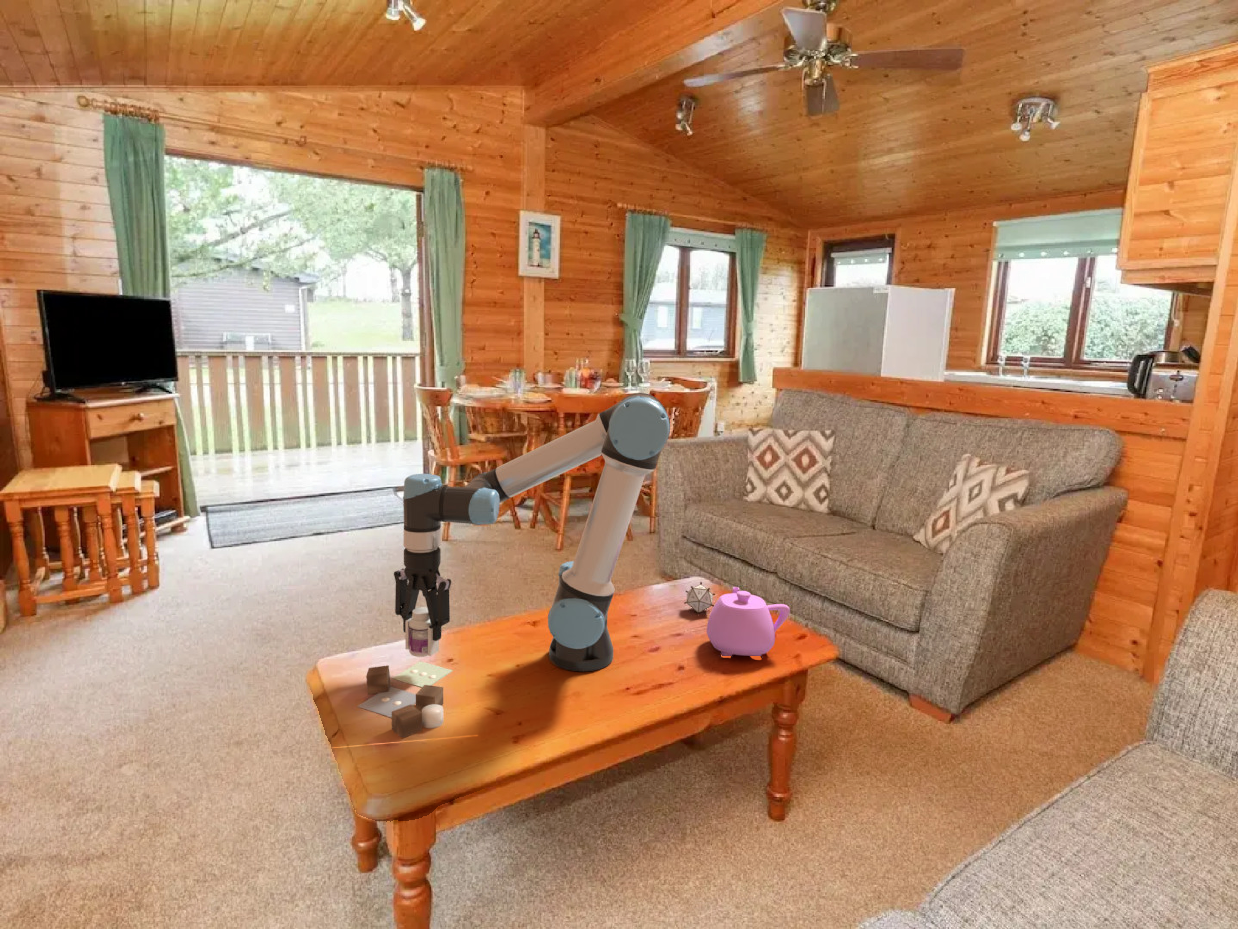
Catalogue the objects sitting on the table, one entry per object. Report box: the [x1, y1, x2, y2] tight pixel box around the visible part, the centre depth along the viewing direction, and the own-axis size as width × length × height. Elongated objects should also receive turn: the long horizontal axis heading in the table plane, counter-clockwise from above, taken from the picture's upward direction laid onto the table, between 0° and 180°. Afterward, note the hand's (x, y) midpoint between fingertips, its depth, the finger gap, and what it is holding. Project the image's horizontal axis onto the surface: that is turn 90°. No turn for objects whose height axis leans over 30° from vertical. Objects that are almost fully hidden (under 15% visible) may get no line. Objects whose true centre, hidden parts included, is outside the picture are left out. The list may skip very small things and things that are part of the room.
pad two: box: [357, 685, 417, 719], centre depth 139 cm, size 9×9×1 cm
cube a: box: [415, 685, 444, 712], centre depth 137 cm, size 4×4×4 cm
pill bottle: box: [408, 606, 431, 658], centre depth 149 cm, size 5×5×10 cm
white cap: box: [422, 704, 444, 729], centre depth 132 cm, size 4×4×3 cm
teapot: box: [706, 586, 791, 657], centre depth 171 cm, size 20×20×15 cm
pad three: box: [392, 660, 454, 689], centre depth 151 cm, size 9×9×1 cm
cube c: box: [365, 665, 391, 695], centre depth 144 cm, size 4×4×4 cm
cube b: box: [391, 704, 423, 739], centre depth 129 cm, size 4×4×4 cm
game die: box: [683, 581, 716, 613], centre depth 193 cm, size 9×8×10 cm
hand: (422, 649), depth 150 cm, fingers closed on pill bottle, 5 cm apart
